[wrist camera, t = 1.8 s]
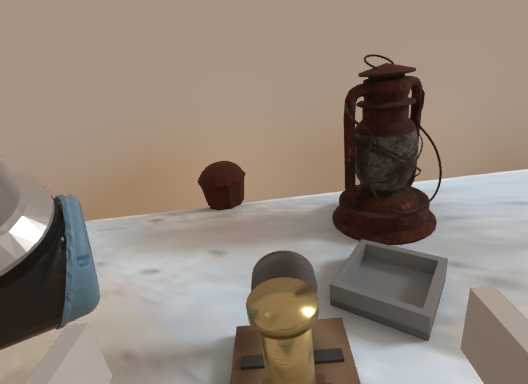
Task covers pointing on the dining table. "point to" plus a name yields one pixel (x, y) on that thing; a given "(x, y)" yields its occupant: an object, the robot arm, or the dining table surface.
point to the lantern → (384, 160)
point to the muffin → (223, 185)
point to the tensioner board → (323, 331)
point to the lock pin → (285, 328)
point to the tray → (391, 286)
